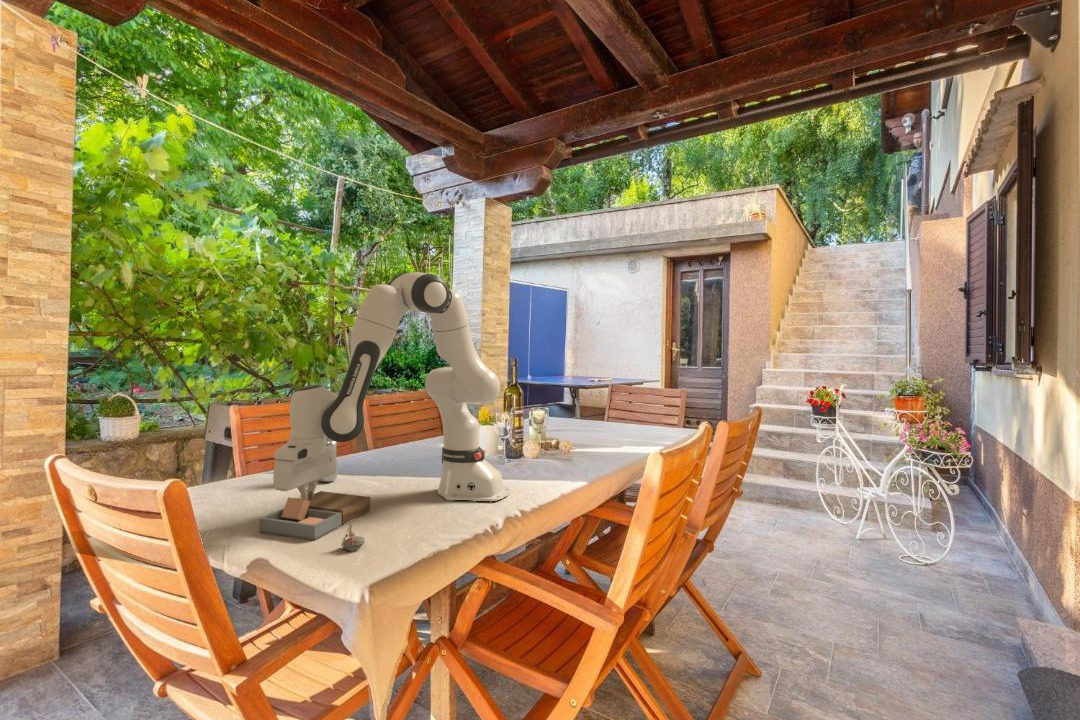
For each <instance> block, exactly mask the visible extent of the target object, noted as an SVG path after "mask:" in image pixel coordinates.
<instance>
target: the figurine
mask: <svg viewBox="0 0 1080 720" xmlns="http://www.w3.org/2000/svg"><path fill="white" fill-rule="evenodd" d="M348 526H349V527H348V528H347V530H346V533H345V535H344V536H343V538H342V542H341V547H342V548H341V549H342V550H346V551H347V552H348V551H349V552H351V551H354V552H356V551H357V549H359V548H360V547H361V548H362V546H363V545H364V544H365V540H366V539H365V537H363V536H356V534H355V532H354V530H353V525H352V523H348ZM347 532H348V534H347ZM361 548H360V549H361ZM360 549H359V550H360ZM355 550H356V551H355Z"/></svg>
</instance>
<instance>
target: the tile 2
mask: <svg viewBox="0 0 1080 720" xmlns="http://www.w3.org/2000/svg"><path fill="white" fill-rule="evenodd" d="M323 520H325V519H321V518H314V517H309V518H306V519H304V520H302V521H299V523H307V524H317V523H319V522H321V521H323Z"/></svg>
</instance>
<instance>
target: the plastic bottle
mask: <svg viewBox="0 0 1080 720" xmlns="http://www.w3.org/2000/svg"><path fill="white" fill-rule="evenodd" d="M328 441H330V442H331V443H333V445H334V450H335V452H336V453H337V445H338V442H336V441H333V440H331V439H329V438H328V437H327V436H326V442H328ZM337 478H338V470H337V471H336V473H335V474H333V475H330V476H327V477H324V478H322V479H319V480H317V482H320V483H321V482H322V483H330V482H333V481H335V480H336V479H337Z"/></svg>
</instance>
